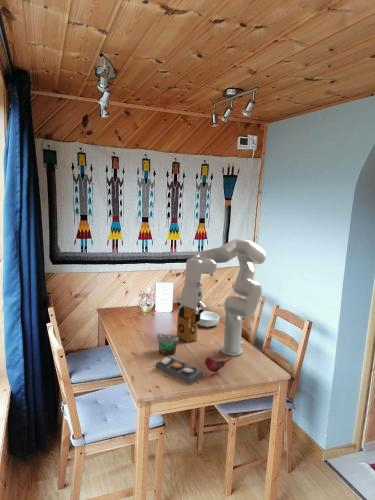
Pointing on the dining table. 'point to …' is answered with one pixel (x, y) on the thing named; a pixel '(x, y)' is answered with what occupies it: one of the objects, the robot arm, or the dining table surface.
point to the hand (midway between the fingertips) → (189, 319)
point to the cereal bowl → (208, 319)
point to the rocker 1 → (165, 361)
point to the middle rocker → (176, 365)
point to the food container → (167, 344)
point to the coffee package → (187, 325)
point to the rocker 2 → (188, 370)
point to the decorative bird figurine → (214, 364)
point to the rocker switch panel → (180, 371)
